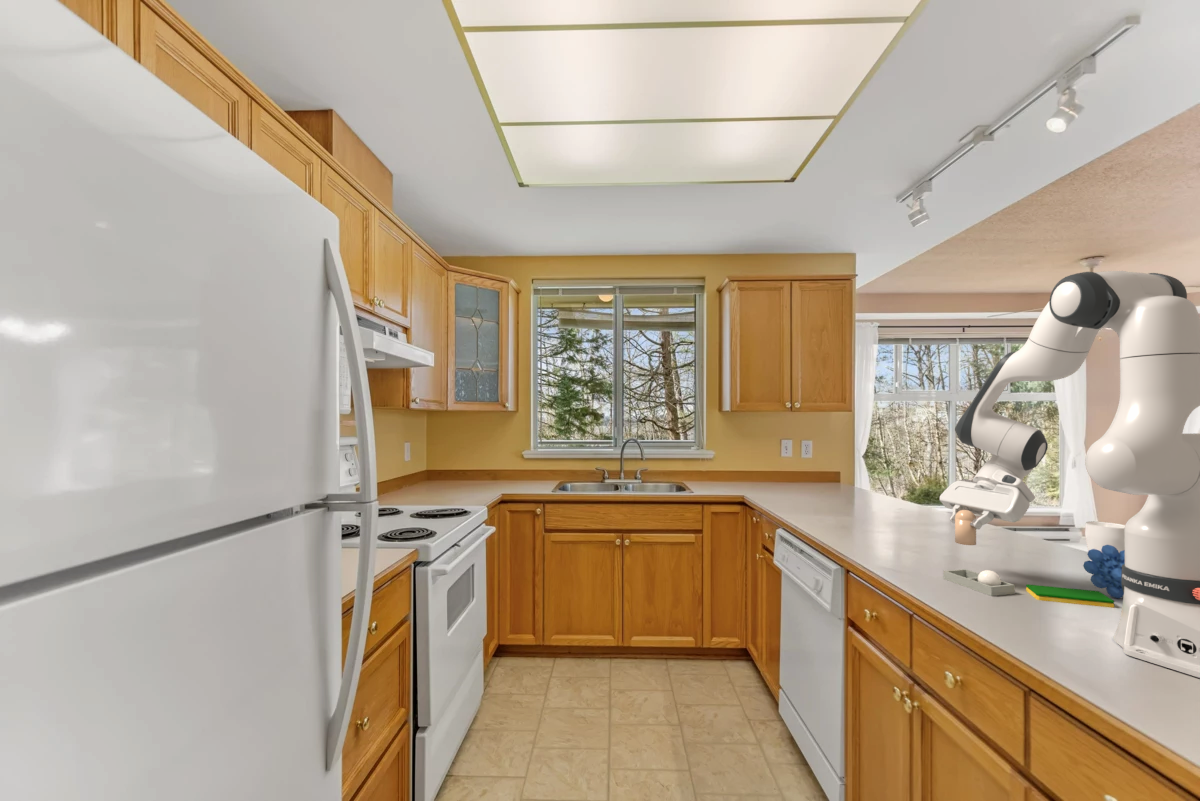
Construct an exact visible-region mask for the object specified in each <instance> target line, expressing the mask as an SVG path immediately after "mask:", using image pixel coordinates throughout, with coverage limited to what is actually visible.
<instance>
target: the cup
mask: <svg viewBox="0 0 1200 801" xmlns="http://www.w3.org/2000/svg"><path fill="white" fill-rule="evenodd" d="M1125 525H1126V524H1121V523H1114V522H1108V521H1107V522H1106V521H1105V522H1104V521H1094V520H1093V521H1086V522H1085V527H1084V537H1085V542H1086V547H1087V552H1088V551H1089V550H1091V549H1096V550H1099V551H1101V549H1102V547H1103V546H1105V545H1111V546H1114V547H1115V548H1116V549H1117V550H1118V552H1119V553H1120V551H1123V550H1125V541H1124V528H1125ZM1101 552H1102V551H1101ZM1088 558H1089V557H1088ZM1089 560H1090V561H1092V560H1091V559H1090V558H1089Z"/></svg>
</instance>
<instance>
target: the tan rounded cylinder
mask: <svg viewBox="0 0 1200 801" xmlns="http://www.w3.org/2000/svg"><path fill="white" fill-rule="evenodd" d="M973 519H977V517H976V514H973V513H972V512H971V511H969V510H960V511H958V512H957V513H956V515H955V524H954V543H956V544H959V545H962V546H963V545H964V546H976V545H977V529H975V528H972V526H971V525H970V523H971V522H972V520H973Z"/></svg>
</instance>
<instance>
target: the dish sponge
mask: <svg viewBox="0 0 1200 801" xmlns="http://www.w3.org/2000/svg"><path fill="white" fill-rule="evenodd" d="M1025 586H1026V587H1025V591H1026V592H1027V594H1028V593H1029V595H1030V596H1032V597H1033V598H1034V599H1035V600H1036V601H1042V602H1044V601H1045V602H1053V603H1063V604H1074V605H1082V606H1092V607H1103V608H1113V609H1114V608H1115V600H1113V599H1112V598H1110V597H1109V596H1107V595H1105V594H1104V593H1102V592H1101V591H1099V590H1091V589H1080V588H1068V587H1059V586H1048V585H1039V584H1038V585H1037V584H1025Z"/></svg>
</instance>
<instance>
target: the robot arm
mask: <svg viewBox="0 0 1200 801" xmlns="http://www.w3.org/2000/svg"><path fill="white" fill-rule="evenodd" d="M1104 328H1107V329H1111V330H1113V331H1114V332H1115V333H1116V334H1117V336H1118V340H1119V401H1118V406H1117V409H1116V413H1115V415H1114V416H1113V419H1112V422H1111V424H1110V425H1109V427H1108V428H1107V429H1106V431H1105V432H1104V434H1103V435H1102V436H1101V437H1100V438H1099V439H1097V440H1096V441H1094V442H1093V443H1092V444H1090V446H1089V447H1088V449H1087V451H1086V455H1085V459H1084V463H1085V464H1084V465H1085V469H1086V472H1087V474H1088V476H1089V477H1090V478H1091V481H1093V482H1094V483H1095V484H1096V485H1097V486H1099V487H1100V488H1103V489H1104V490H1108V491H1113V492H1118V493H1121V494H1128V495H1135V496H1139V495H1140V496H1147V498H1146V499H1145V503H1144V504H1143V506H1142V508H1140V510H1139V511H1137V513H1136V514H1134V515H1133V516H1132V517H1130V518H1129V519H1128V520H1127V521H1126V523H1125V524H1124V525H1125V528H1124V541H1125V564H1123V565H1122V574H1121V583H1122V589H1123V592H1124V595H1123V597H1122V598H1123V599H1122V606H1121V613H1120V617H1119V621H1118V624H1117V628H1116V631H1115V633H1114V635H1113V638H1112V639H1113V641H1114V642H1115V643H1116V644H1117V645H1119V646H1120V647H1122V650H1123V651H1122V652H1123V653H1124V654H1125V655H1126V656H1130V657H1132V658H1136V659H1139V660H1141V661H1145V662H1148V663H1151V664H1155V665H1158V666H1161V667H1164V668H1168V669H1171V670H1174V671H1177V672H1180V673H1183V674H1186V675H1189V676H1193V677H1195V678H1199V679H1200V433H1183V432H1184V429H1185V426H1186V423H1187V420H1188V419H1189V417H1190V415H1191V414H1192V413H1193V411H1195V410H1196V409H1197V408H1199V407H1200V315H1199V312H1198V309H1197V307H1196V305H1195V303H1193V301H1191V300H1189V299H1188V293H1187V289H1186V286H1185V285H1184V284H1183V282H1182V281H1180V280H1179V279H1178V278H1175V277H1174V276H1171V275H1168V274H1163V273H1158V272H1148V273H1144V272H1134V271H1126V270H1107V271H1105V270H1104V271H1083V272H1078V273H1073V274H1070V275H1067V276H1065V277H1063V278H1061V279H1060V280H1059V281H1058V282H1057V283H1056V284H1055V285H1054V287H1053V288H1052V291H1051V293H1050V295H1049V301H1048V302H1047V303H1046V305H1045V306H1044V307H1043V309H1042V310H1041V312H1040V314H1039V316H1038V317H1037V319H1036V321H1035V323H1034V325H1033V326H1032V328H1031V331H1030V333H1029V336H1028V338H1027V340H1026V342H1025V343H1024V345H1023V346H1021V347H1020V349H1017V351H1012V352H1008V353H1006V354H1005V355H1004V356H1003V357H1002V358H1000V360H999V361H998V362H997V364H996V365H995V367H994V368H993V369H992V371H991V372H990V374H989V375H988V377H987V378H986V380H984V383H983V384H982V386H981V387H980V389H979V391H978V392H977V393H976V395H975V397H974V398H973V400H972V402H970V404H969V406H968V407H967V408H966V410H965V411H964V413H962V414H961V416H960V417H959V418H958V420H957V422H956V424H955V428H954V431H955V435H956V436H957V438H958V440H959V441H960V443H962V444H964V445H967V446H969V447H973V448H975V449H980V450H982V451H985V452H986V453H988V454H991V457H990V459H989V460H987V461H986V462H985V463H984V464H983V465H982V466H981V468H980V469H979V470H978V471H977V473H976V474H975V475H974V477H973V478H972V479H968V478H962V479H959V480H956V481H954V482H952V483H951V484H950V485H949V486H948V487H947V488H946V489H944V491H943V492H942V493H941V494H940V495H939V502H940V503H941V504H942V505H943V507H945V508H946V509H950V510H952V515H951V516H950V518H949V521H950V523H952V524H954V525H955V515H956V513H957V512H958V511H960V510H969V511H971V512H972V513H973V514H974V515H978V516H979V517H978V518H976V519H973V520H972V522H971V523H970V525H971V526H972V528H975V529H976V530H980V529H981V528H982V527H983V526H984V525H987V524H988V523H990V522H992V521H993V519H996V520H1001V521H1006V522H1009V523H1016V522H1019V521H1020V520H1021V519H1022V518H1023V517H1024V516H1025V514H1026V513H1027V511H1028V510H1029V508H1030V505H1031V504H1030V503H1032V502H1033V501H1034V500H1035V498H1036V497H1035V495H1034V493H1033V492H1032V490H1031V489H1030V488H1029V486H1028V485H1027V484H1026V483H1025V482H1024V481H1023V480H1024V479H1025V477H1026V476H1028V475H1029V474H1030V473H1031V472H1032V471H1033V469H1035V468H1037V467H1038V465H1039V464H1040V463H1041V462H1042V460H1043V459H1044V457H1045V456H1046V453H1047V450H1048V446H1049V445H1048V441H1047V439H1046V436H1045V434H1044V433H1043V431H1042V430H1040V429H1038V428H1036V427H1034V426H1031V425H1029V424H1027V423H1024V422H1021V421H1017V420H1015V419H1012V418H1009V417H1007V416H1004V415H1001V414H999V413H996V412H995V411H994V409H993V407H994V405H995V404H996V402H997V401H998V400H999V398H1000V397H1001V395H1002V393H1003V392H1004V390H1005V389H1006V387H1007V386H1008V385H1009V384H1010V383H1015V382H1051V381H1058V380H1062V379H1065V378H1068V377H1069V376H1072V375H1073V374H1075V373H1076V372H1077V371H1079V369H1080V368H1081V366H1083V364H1084V362H1085V360H1086V358H1087V357H1088V355H1089V353H1090V350H1091V348H1092V346H1093V344H1094V342H1095V339H1096V338H1097V336H1098V333H1100V331H1101V330H1103V329H1104Z"/></svg>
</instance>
